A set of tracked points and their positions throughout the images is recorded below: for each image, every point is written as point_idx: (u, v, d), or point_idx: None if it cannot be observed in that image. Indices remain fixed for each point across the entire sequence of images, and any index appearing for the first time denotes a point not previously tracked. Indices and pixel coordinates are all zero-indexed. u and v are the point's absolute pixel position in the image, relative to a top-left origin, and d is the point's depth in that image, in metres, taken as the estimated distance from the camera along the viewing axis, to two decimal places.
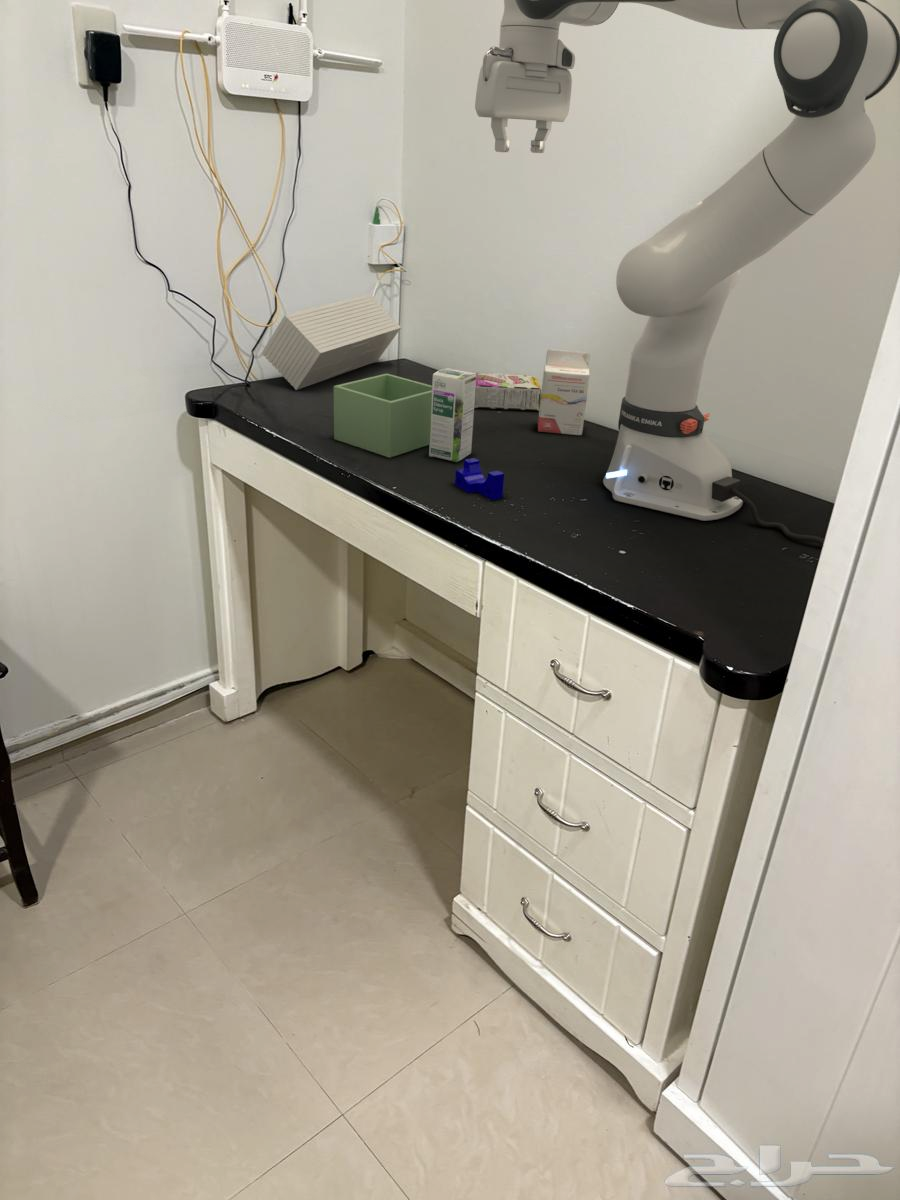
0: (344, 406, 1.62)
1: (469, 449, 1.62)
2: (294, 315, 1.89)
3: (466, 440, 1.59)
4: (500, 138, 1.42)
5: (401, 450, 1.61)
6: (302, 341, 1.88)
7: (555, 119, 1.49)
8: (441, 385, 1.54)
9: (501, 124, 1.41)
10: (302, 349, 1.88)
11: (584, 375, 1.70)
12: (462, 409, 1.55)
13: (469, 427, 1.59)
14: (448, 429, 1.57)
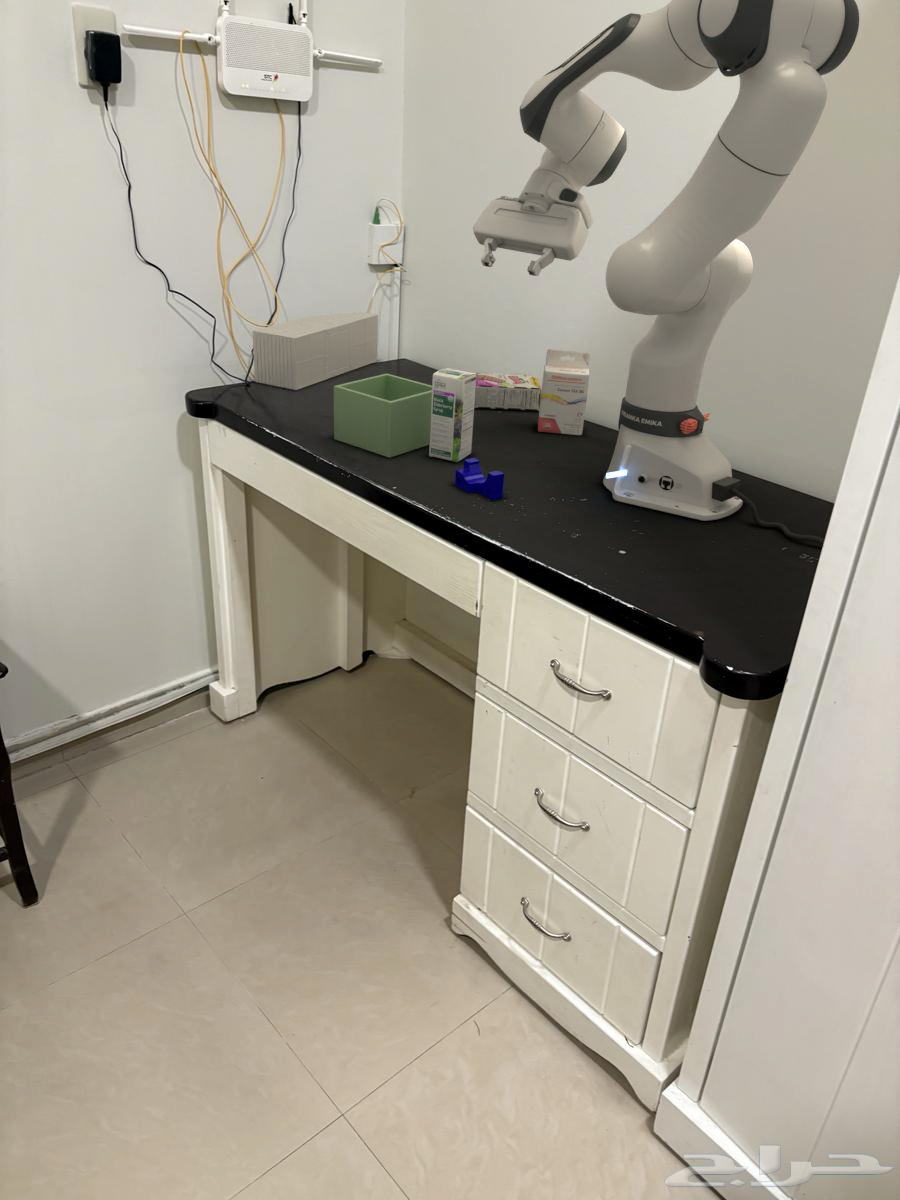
0: (344, 406, 1.62)
1: (469, 449, 1.62)
2: (262, 329, 1.94)
3: (466, 440, 1.59)
4: None
5: (401, 450, 1.61)
6: (276, 340, 1.91)
7: (551, 243, 1.53)
8: (441, 385, 1.54)
9: (485, 241, 1.60)
10: (280, 347, 1.91)
11: (584, 375, 1.70)
12: (462, 409, 1.55)
13: (469, 427, 1.59)
14: (448, 429, 1.57)
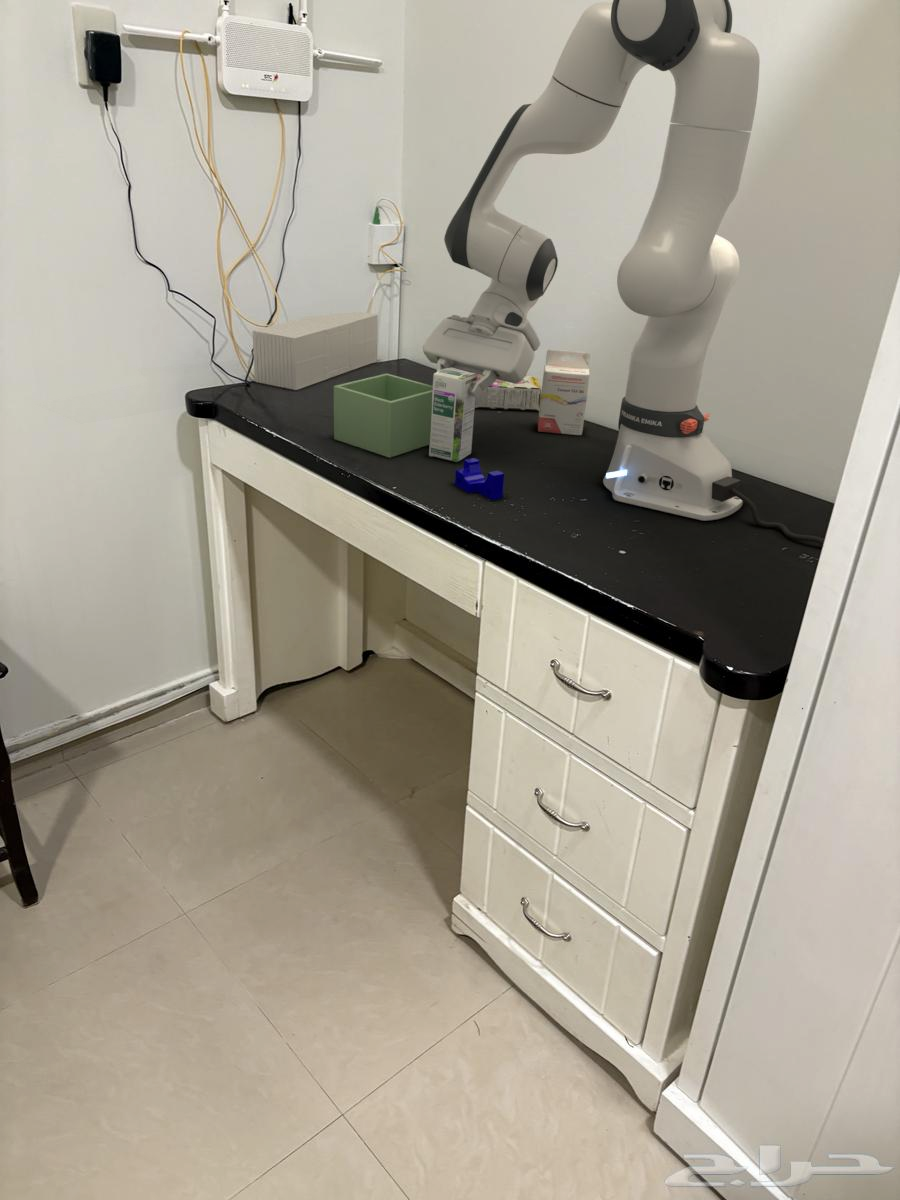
0: (344, 406, 1.62)
1: (469, 449, 1.62)
2: (262, 329, 1.94)
3: (466, 440, 1.59)
4: None
5: (401, 450, 1.61)
6: (276, 340, 1.91)
7: (496, 367, 1.53)
8: (442, 385, 1.54)
9: (438, 362, 1.60)
10: (280, 347, 1.91)
11: (584, 375, 1.70)
12: (462, 409, 1.55)
13: (469, 427, 1.59)
14: (448, 429, 1.57)
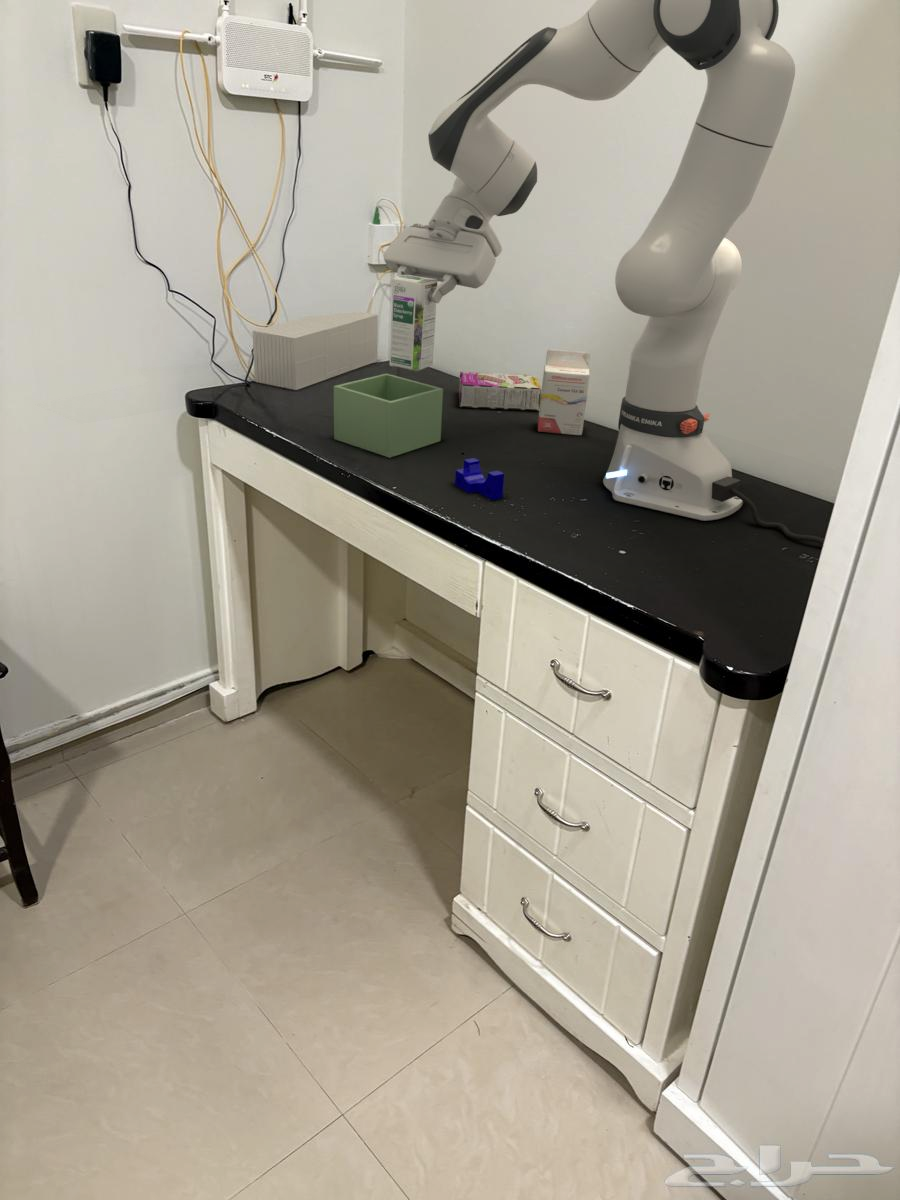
0: (344, 406, 1.62)
1: (430, 359, 1.59)
2: (262, 329, 1.94)
3: (427, 349, 1.57)
4: None
5: (401, 450, 1.61)
6: (276, 340, 1.91)
7: (456, 271, 1.50)
8: (401, 290, 1.51)
9: (398, 269, 1.57)
10: (280, 347, 1.91)
11: (584, 375, 1.70)
12: (422, 315, 1.52)
13: (430, 336, 1.56)
14: (408, 336, 1.54)
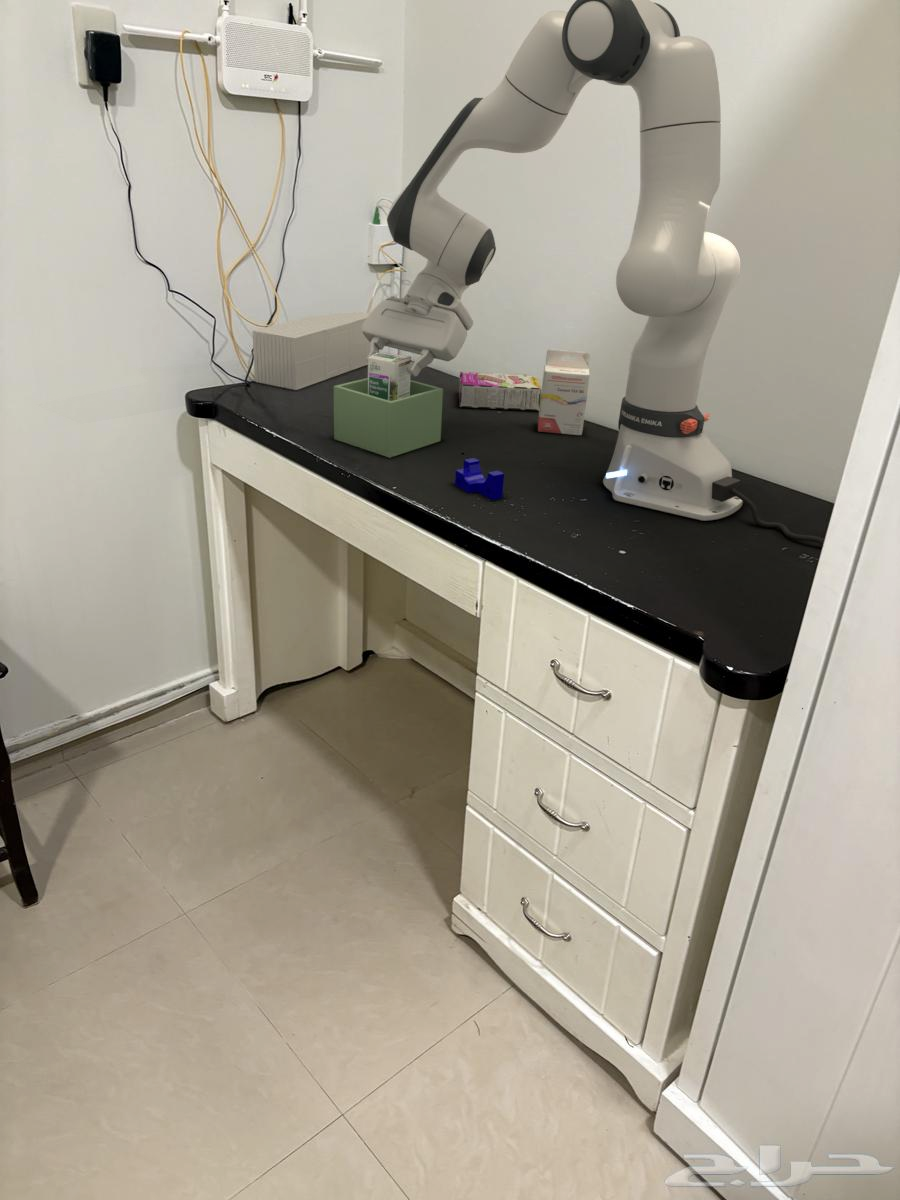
0: (344, 406, 1.62)
1: None
2: (262, 329, 1.94)
3: None
4: None
5: (401, 450, 1.61)
6: (276, 340, 1.91)
7: (428, 345, 1.58)
8: (376, 368, 1.60)
9: (372, 340, 1.65)
10: (280, 347, 1.91)
11: (584, 375, 1.70)
12: (397, 391, 1.60)
13: None
14: None
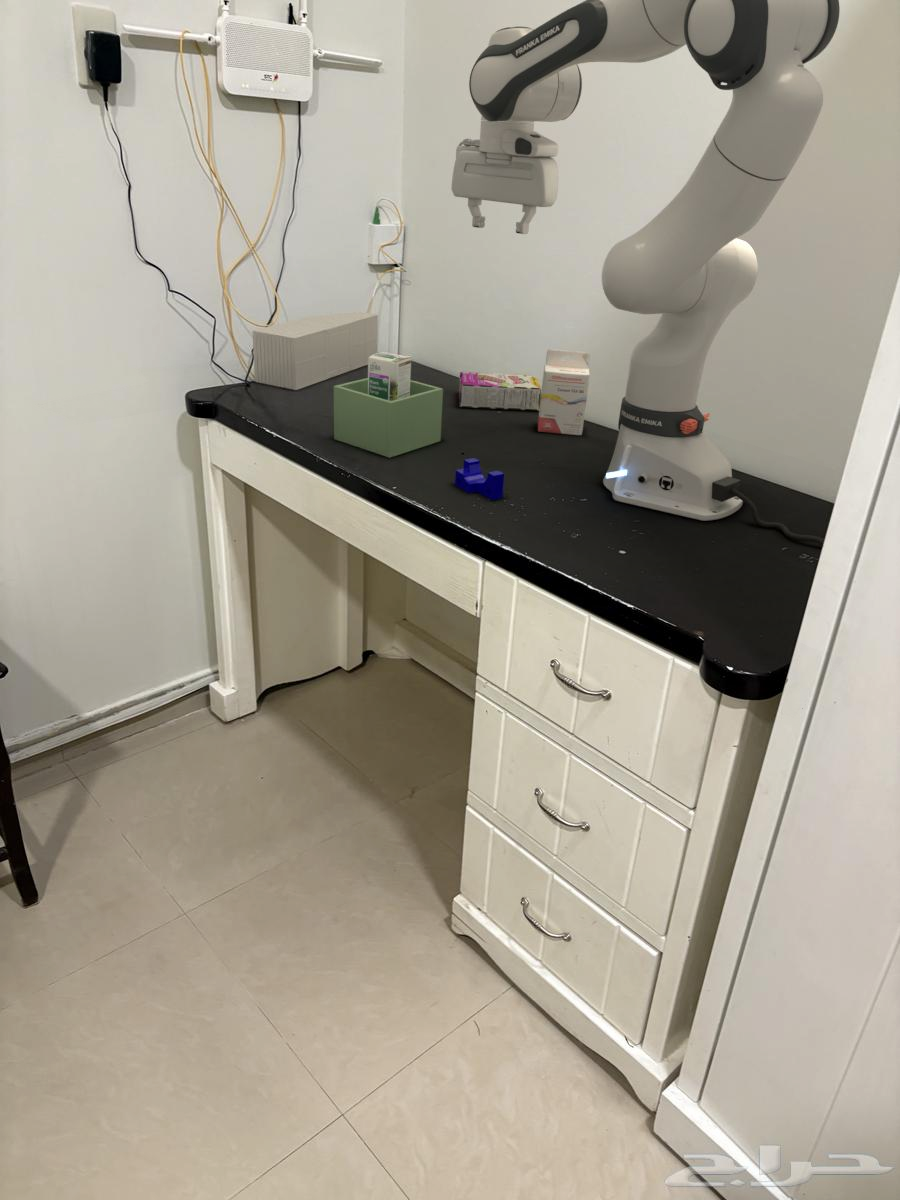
0: (344, 406, 1.62)
1: None
2: (262, 329, 1.94)
3: None
4: None
5: (401, 450, 1.61)
6: (276, 340, 1.91)
7: (527, 203, 1.54)
8: (376, 368, 1.60)
9: None
10: (280, 347, 1.91)
11: (584, 375, 1.70)
12: (397, 391, 1.60)
13: None
14: None
